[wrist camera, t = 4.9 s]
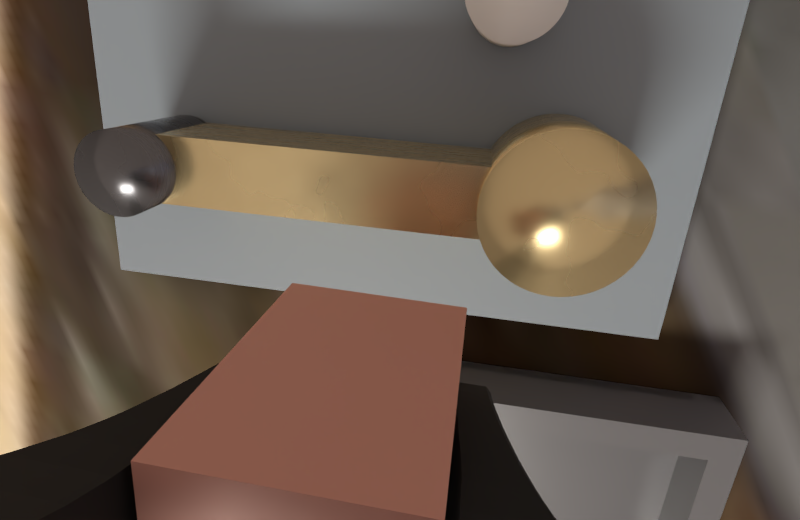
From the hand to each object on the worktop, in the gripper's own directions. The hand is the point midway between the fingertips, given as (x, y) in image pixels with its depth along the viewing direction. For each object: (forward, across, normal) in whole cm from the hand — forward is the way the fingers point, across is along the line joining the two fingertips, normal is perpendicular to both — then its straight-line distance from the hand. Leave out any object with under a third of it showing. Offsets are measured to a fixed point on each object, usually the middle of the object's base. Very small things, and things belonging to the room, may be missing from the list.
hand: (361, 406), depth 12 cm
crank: (+8, +1, -4) cm, 9 cm away
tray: (+9, -6, +9) cm, 14 cm away
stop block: (+1, 0, 0) cm, 1 cm away
